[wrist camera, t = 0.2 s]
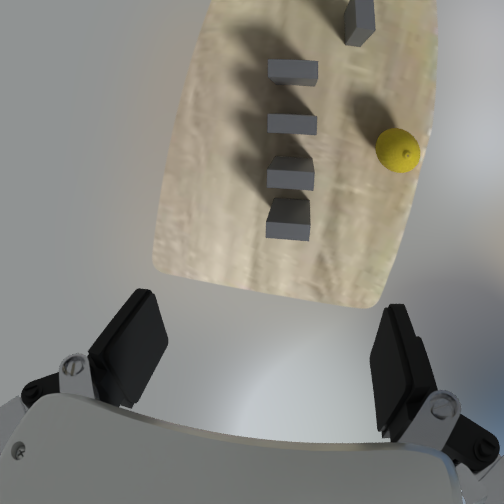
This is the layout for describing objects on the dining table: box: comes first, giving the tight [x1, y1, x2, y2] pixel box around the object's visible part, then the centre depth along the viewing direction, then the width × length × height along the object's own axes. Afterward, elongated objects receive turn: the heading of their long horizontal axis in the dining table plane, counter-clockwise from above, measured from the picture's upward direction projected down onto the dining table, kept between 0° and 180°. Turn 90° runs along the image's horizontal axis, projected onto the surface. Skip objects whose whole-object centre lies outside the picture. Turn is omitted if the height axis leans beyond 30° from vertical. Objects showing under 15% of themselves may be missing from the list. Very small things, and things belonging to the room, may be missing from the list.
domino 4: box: [266, 198, 310, 241], centre depth 36 cm, size 2×5×9 cm, turn 90°
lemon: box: [375, 128, 420, 173], centre depth 30 cm, size 6×6×8 cm
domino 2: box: [267, 113, 317, 135], centre depth 31 cm, size 2×5×9 cm, turn 90°
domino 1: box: [268, 59, 318, 86], centre depth 28 cm, size 2×5×9 cm, turn 90°
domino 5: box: [344, 0, 375, 47], centre depth 23 cm, size 2×5×9 cm, turn 0°
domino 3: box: [267, 156, 315, 191], centre depth 34 cm, size 2×5×9 cm, turn 90°
